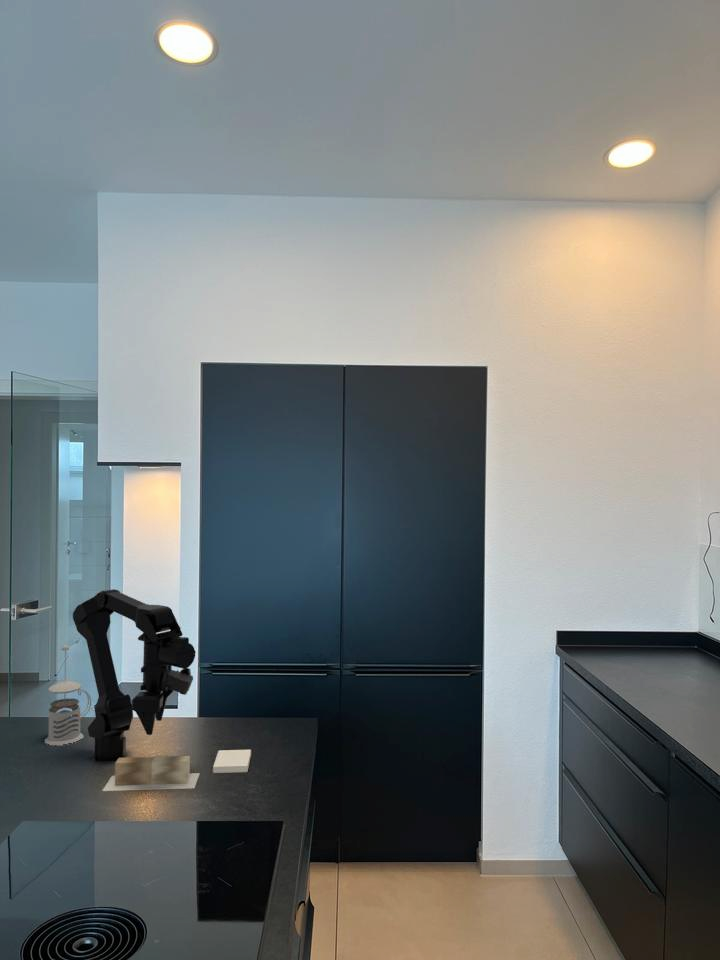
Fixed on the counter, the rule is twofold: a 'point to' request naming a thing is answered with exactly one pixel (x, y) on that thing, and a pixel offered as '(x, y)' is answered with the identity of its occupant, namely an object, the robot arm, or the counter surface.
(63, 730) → the french press
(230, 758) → the glazed tile
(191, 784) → the mat
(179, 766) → the beige rectangular block
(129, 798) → the counter surface
